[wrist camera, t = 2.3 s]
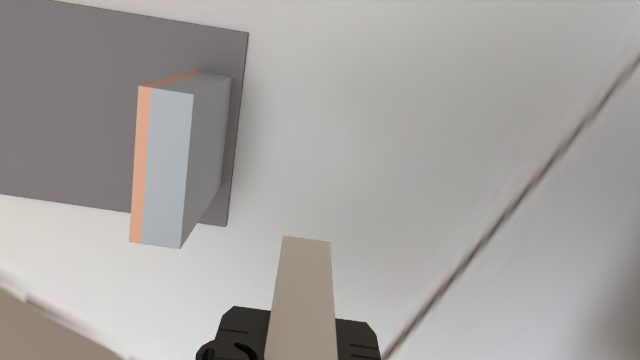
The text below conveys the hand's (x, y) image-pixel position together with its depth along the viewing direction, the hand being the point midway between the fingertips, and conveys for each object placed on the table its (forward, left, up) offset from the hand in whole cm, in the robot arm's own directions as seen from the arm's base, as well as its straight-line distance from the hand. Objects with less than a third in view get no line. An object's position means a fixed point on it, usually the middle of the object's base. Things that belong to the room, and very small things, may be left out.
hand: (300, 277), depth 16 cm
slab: (+7, 0, -20) cm, 22 cm away
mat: (+16, 0, -21) cm, 26 cm away
